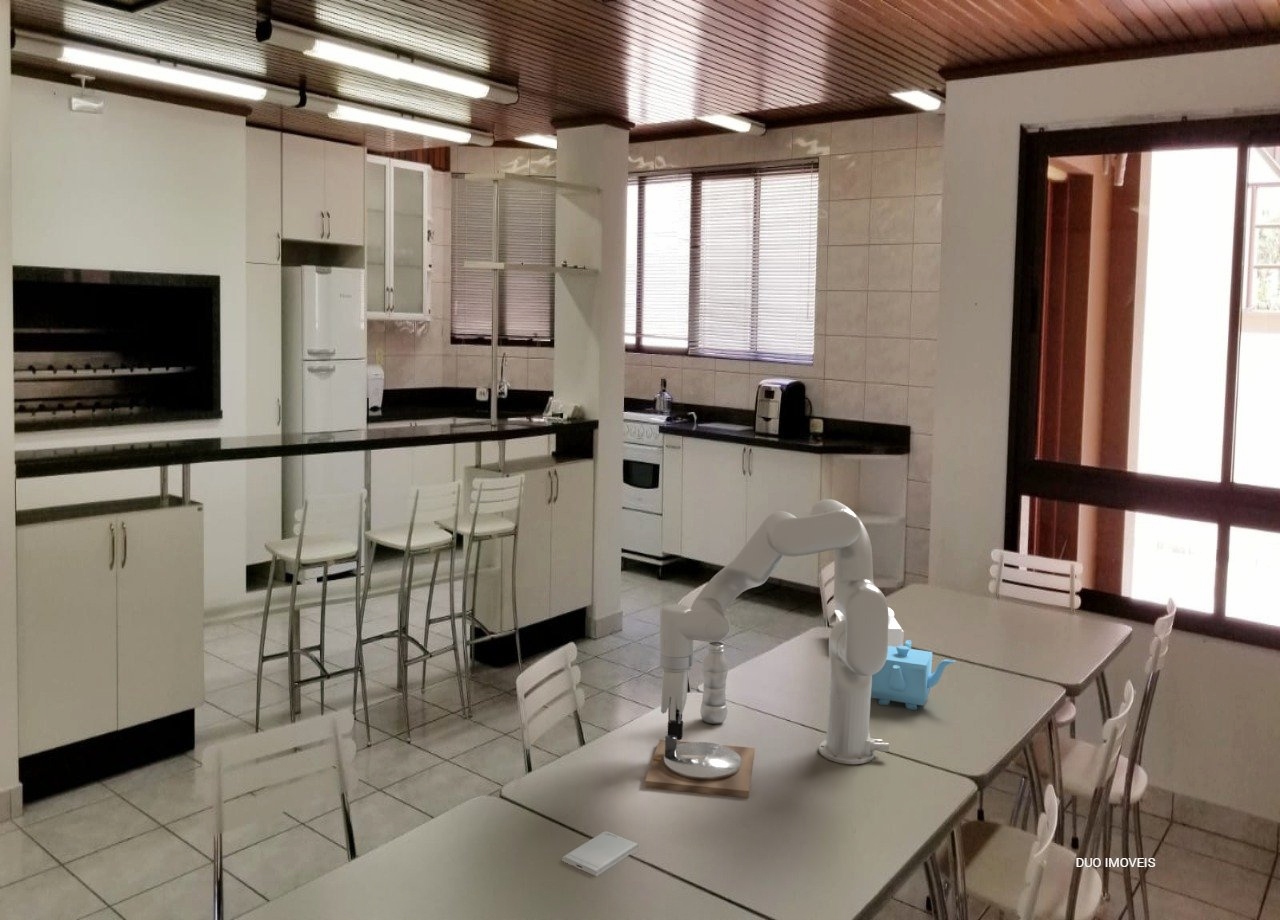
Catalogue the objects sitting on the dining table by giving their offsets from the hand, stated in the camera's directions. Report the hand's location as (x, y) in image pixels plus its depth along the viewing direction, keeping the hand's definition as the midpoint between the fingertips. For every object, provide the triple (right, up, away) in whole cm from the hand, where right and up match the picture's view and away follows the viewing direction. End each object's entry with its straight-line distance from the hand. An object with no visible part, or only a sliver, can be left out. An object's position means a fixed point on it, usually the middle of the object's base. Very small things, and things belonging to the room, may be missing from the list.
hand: (675, 737), depth 237 cm
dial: (+6, -4, -6) cm, 9 cm away
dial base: (+6, -6, -5) cm, 10 cm away
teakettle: (+62, -1, +39) cm, 73 cm away
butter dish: (+61, +5, +83) cm, 104 cm away
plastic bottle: (+10, -2, +22) cm, 24 cm away
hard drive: (-15, -11, -42) cm, 46 cm away
